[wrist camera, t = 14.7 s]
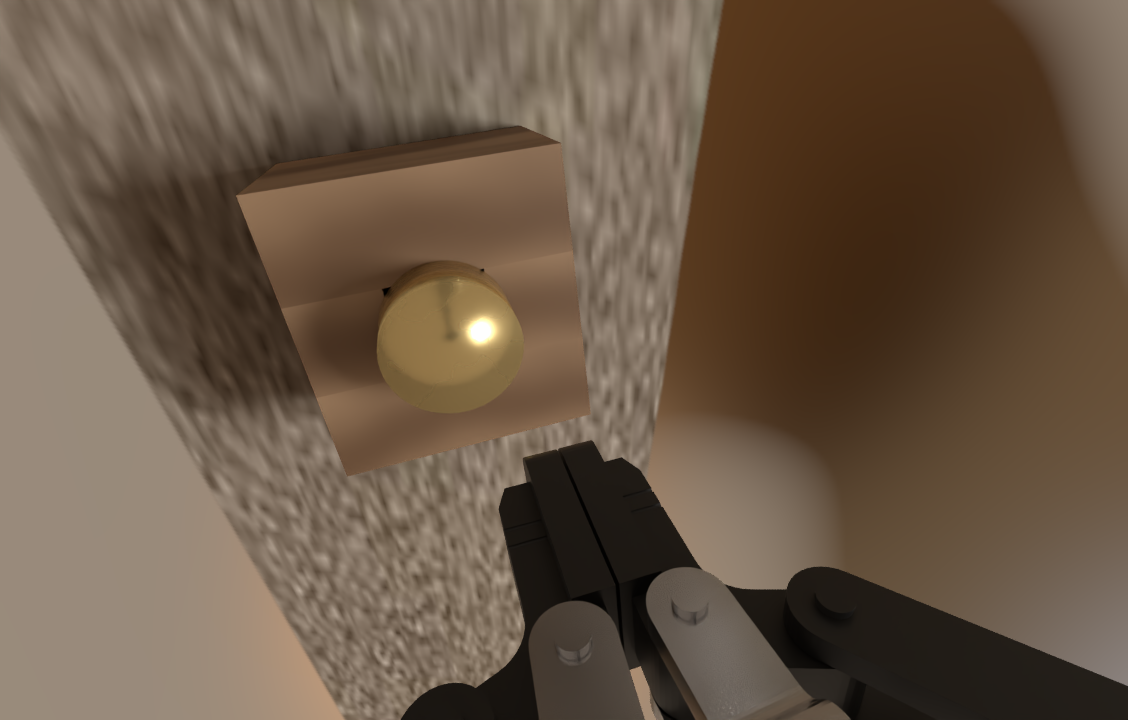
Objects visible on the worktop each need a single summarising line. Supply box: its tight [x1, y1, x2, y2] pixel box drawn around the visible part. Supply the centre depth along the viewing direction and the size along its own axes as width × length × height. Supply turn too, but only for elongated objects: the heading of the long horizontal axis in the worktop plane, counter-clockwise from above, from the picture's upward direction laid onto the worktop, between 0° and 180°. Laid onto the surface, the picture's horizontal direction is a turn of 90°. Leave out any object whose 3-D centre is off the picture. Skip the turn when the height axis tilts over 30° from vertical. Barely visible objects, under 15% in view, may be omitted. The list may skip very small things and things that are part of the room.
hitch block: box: [236, 126, 591, 476], centre depth 27 cm, size 13×12×8 cm
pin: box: [377, 260, 524, 413], centre depth 26 cm, size 6×6×10 cm
